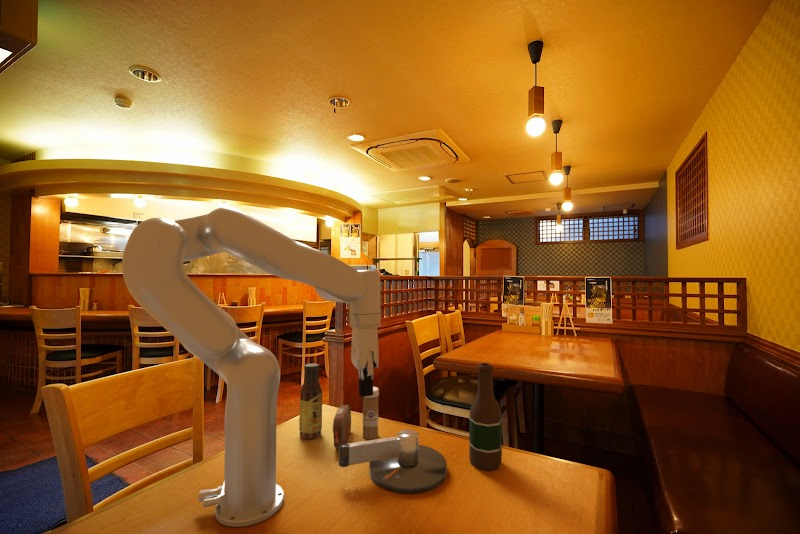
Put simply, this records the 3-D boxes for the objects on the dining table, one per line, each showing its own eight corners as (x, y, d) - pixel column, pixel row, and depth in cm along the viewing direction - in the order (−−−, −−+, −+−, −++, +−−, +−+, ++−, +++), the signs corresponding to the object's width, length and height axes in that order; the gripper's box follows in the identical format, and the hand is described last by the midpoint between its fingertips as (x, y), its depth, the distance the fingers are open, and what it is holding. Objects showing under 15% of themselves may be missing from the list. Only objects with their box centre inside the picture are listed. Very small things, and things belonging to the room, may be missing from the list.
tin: (343, 454, 92) (343, 421, 92) (331, 454, 92) (331, 421, 92) (352, 428, 107) (352, 400, 107) (341, 428, 107) (341, 400, 107)
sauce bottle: (316, 441, 99) (316, 368, 99) (295, 439, 100) (295, 367, 100) (325, 431, 105) (326, 362, 105) (305, 429, 106) (306, 361, 107)
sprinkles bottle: (365, 441, 99) (365, 391, 99) (360, 434, 103) (360, 386, 103) (380, 438, 101) (381, 389, 101) (375, 431, 105) (375, 385, 105)
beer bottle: (489, 476, 82) (489, 370, 82) (462, 462, 88) (462, 363, 88) (508, 464, 87) (508, 364, 87) (481, 452, 93) (481, 358, 93)
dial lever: (414, 453, 87) (414, 428, 87) (422, 463, 83) (422, 437, 83) (337, 466, 81) (337, 439, 81) (340, 478, 77) (340, 450, 77)
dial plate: (381, 501, 73) (381, 490, 73) (361, 458, 90) (361, 449, 90) (460, 484, 79) (460, 474, 79) (428, 446, 96) (428, 438, 96)
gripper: (344, 317, 94) (345, 387, 94) (356, 325, 80) (357, 408, 80) (372, 315, 96) (373, 384, 96) (388, 323, 82) (389, 403, 82)
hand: (366, 394), depth 88 cm, fingers closed
